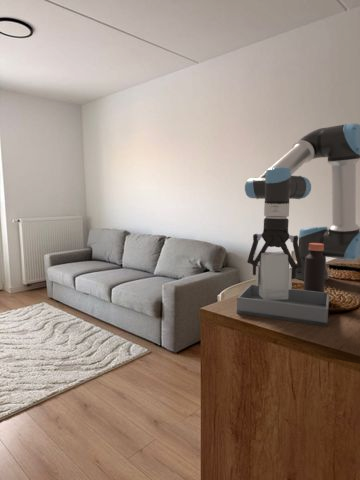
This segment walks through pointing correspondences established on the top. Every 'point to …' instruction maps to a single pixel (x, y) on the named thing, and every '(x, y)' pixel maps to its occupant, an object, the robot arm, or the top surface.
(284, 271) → the skincare box
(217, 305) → the top surface
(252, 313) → the tray
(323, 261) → the vinegar
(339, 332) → the top surface
